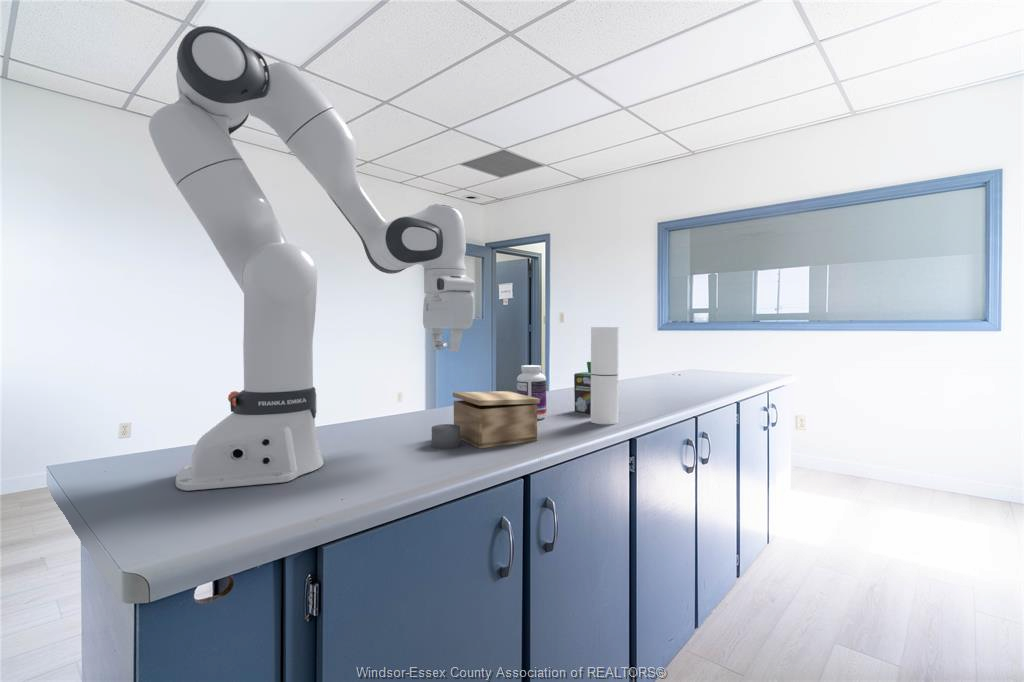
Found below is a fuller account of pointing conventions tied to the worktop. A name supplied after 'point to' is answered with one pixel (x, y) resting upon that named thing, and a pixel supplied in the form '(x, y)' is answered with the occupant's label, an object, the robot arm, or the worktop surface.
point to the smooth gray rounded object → (445, 436)
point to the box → (495, 423)
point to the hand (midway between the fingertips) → (446, 350)
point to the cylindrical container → (604, 374)
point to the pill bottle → (533, 386)
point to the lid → (495, 398)
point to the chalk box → (583, 390)
